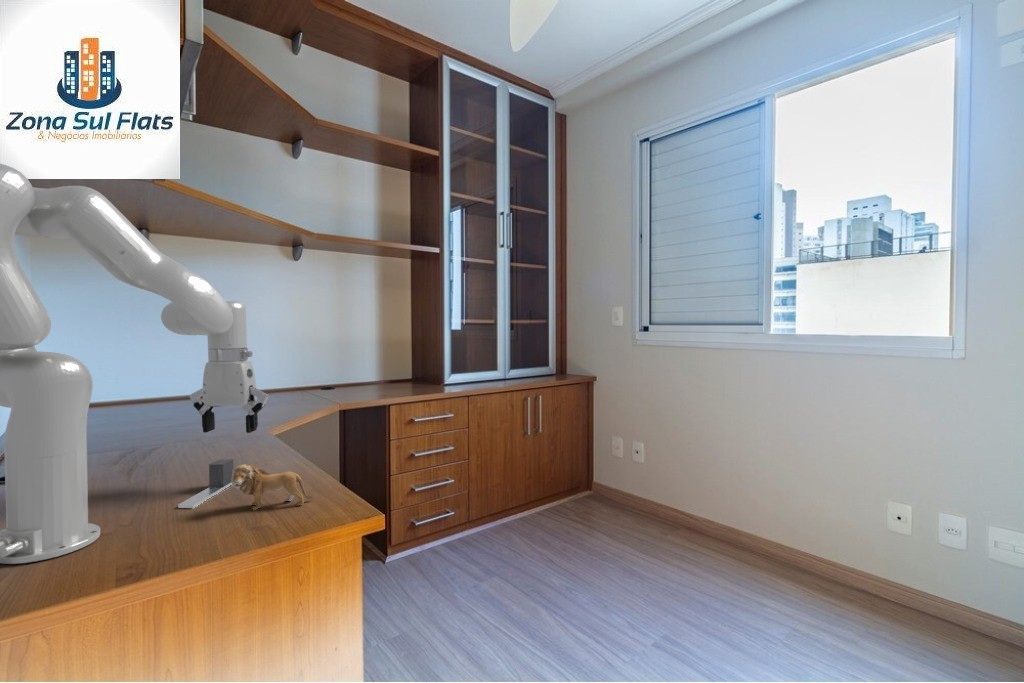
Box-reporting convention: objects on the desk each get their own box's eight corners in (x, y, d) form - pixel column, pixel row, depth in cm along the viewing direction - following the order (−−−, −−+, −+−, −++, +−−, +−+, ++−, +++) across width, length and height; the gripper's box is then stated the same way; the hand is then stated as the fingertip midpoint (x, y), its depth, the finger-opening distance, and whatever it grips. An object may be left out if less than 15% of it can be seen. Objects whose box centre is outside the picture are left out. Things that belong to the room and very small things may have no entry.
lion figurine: (229, 516, 90) (229, 469, 90) (232, 506, 95) (232, 462, 95) (313, 505, 96) (313, 461, 96) (312, 496, 101) (312, 454, 101)
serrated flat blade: (220, 485, 108) (219, 459, 107) (233, 485, 108) (233, 459, 107) (178, 509, 94) (177, 479, 93) (193, 509, 94) (193, 479, 93)
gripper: (274, 354, 110) (276, 427, 111) (200, 354, 110) (203, 427, 111) (257, 358, 103) (259, 435, 104) (177, 357, 103) (180, 435, 104)
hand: (230, 431), depth 107 cm, fingers open, 9 cm apart
